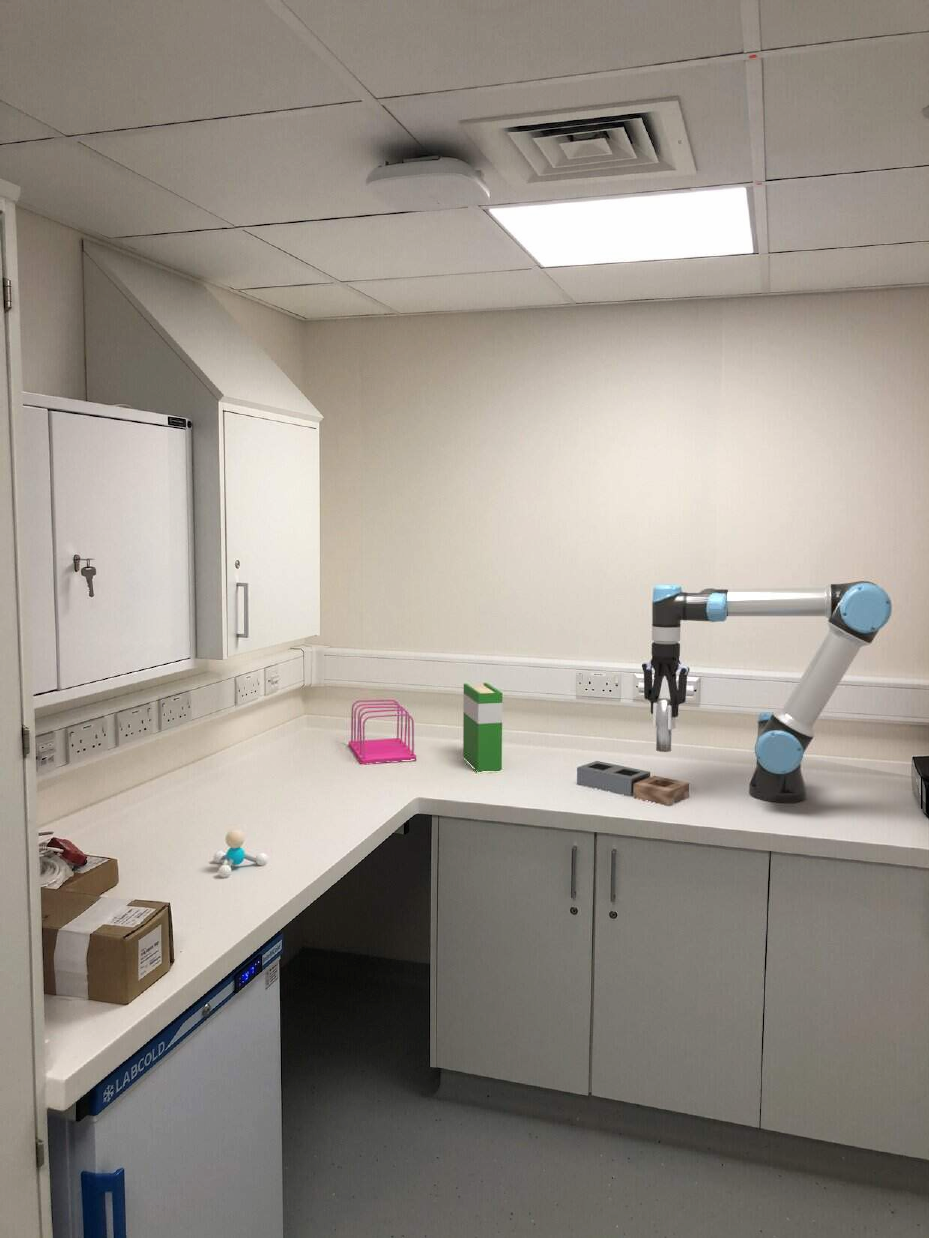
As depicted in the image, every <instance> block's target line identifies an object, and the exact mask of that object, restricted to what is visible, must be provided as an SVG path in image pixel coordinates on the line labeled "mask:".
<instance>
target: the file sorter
mask: <svg viewBox="0 0 929 1238" xmlns="http://www.w3.org/2000/svg"><path fill="white" fill-rule="evenodd" d="M372 702H374V703H372ZM378 702H379V703H378ZM358 703H361V704H358ZM356 704H358V705H357V706H356V707H355V705H356ZM354 707H355V709H354ZM360 707H361V708H360ZM359 708H360V709H359ZM358 709H359V710H358ZM364 709H373V710H367V711H363V710H364ZM375 709H376V710H375ZM357 710H358V713H357ZM362 711H363V712H362ZM361 712H362V713H361ZM384 712H386V713H387V712H397V714H396V713H395V714H394V713H393V714H379V715H377V714H376V715H368V716H366V717H365V718H364V719H363V716H364V715H366V714H368V713H370V714H371V713H384ZM387 717H397V719H396V723H397V724H396V737H395V738H379V739H365V737H366V736H365V734H366V733H365V732H366V731H365V723H366V721H368V720H369V719H372V718H387ZM403 717H405V720H404V718H403ZM362 719H363V721H362ZM403 721H405V722H404V723H403ZM403 724H405V725H403ZM350 726H351V727H350V730H351V731H350V734H351V735H350V739H351V740H350V741H349V740H348V747H349V746H350V747H349V749H350V750H351V749H352V750H351V751H352V753H353V752H354V753H353V754H354V756H355V755H356V756H357V757H356V756H355V757H356V759H357V758H358V759H359V760H358V759H357V760H358V761H360V762H361V763H360V762H359V763H360V765H362V764H364V765H368V764H367V763H376V762H387V761H402V760H411V759H416V760H417V755H416V754H415V722H414V718H413V716H412V715H410V713H409V711H408V710H407V709H406V708H405V707H404V706H402V705H400V704H399V702H398V701H397V700H395V699H366V700H365V699H364V700H363V699H361V700H360V699H359V700H356V701H354V703H353V704H352V705H351V721H350ZM403 726H404V728H403ZM403 729H404V741H403ZM399 735H400V736H399ZM410 741H411V742H410Z"/></svg>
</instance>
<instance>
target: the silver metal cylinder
mask: <svg viewBox="0 0 929 1238" xmlns="http://www.w3.org/2000/svg"><path fill="white" fill-rule="evenodd" d="M670 704H671V700H670V697H669V698H667V697H659V699H657V727H656V733H655V734H656V736H655V737H656V739H655V741H656V742H655V744H656V745H655V750H656V751H657V752H660V753H670V752H671V751H672V734H673V733H672V731H673V729H671V730H669V729H668V705H670Z"/></svg>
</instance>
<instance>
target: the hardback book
mask: <svg viewBox="0 0 929 1238" xmlns="http://www.w3.org/2000/svg"><path fill="white" fill-rule="evenodd" d="M462 712H463V717H462V719H463V720H462V721H463V722H462V723H463V724H462V727H463V729H462V730H463V732H462V733H463V736H462V739H463V741H462V742H463V743H462V744H463V745H462V749H463V750H462V758H463V757H464V758H465V759H466V760H467V761H468V762H469V763H470V764H471V765H472V766H473V767H474V768H475V769H476V770H477V771H478V772H482V771H500V770H502V769H503V765H502V764H503V763H502V762H503V759H502V758H503V756H502V755H503V691H502V692H501V691H500V690H499V689H498V688H495V687H494V686H492V685H491V684H489V682H483V684H482V685H469V684H468V683H463V711H462Z"/></svg>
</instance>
